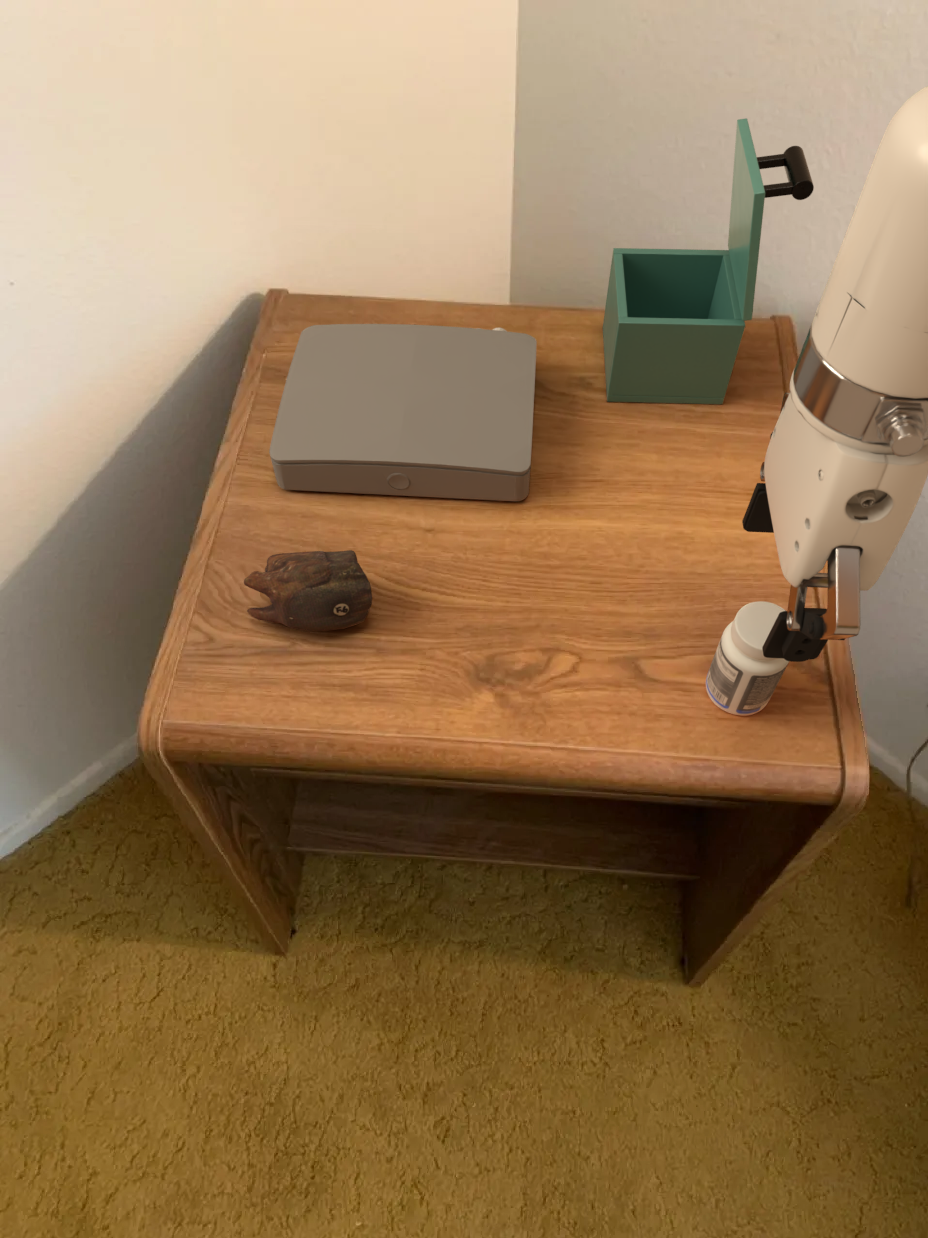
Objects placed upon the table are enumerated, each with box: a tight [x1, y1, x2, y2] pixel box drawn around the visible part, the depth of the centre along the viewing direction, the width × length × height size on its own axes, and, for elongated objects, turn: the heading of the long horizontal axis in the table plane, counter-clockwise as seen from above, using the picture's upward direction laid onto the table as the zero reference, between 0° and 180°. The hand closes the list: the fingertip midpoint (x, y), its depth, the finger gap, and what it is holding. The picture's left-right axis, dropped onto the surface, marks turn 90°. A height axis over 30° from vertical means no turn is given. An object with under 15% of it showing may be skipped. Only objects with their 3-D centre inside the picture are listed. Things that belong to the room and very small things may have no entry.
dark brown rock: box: [243, 549, 373, 632], centre depth 71 cm, size 6×7×10 cm
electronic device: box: [268, 323, 538, 502], centre depth 82 cm, size 19×22×5 cm
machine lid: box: [727, 118, 815, 322], centre depth 75 cm, size 11×11×5 cm
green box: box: [602, 247, 746, 405], centre depth 84 cm, size 11×11×9 cm
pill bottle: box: [705, 600, 790, 717], centre depth 64 cm, size 5×5×8 cm
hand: (776, 588), depth 58 cm, fingers open, 9 cm apart
